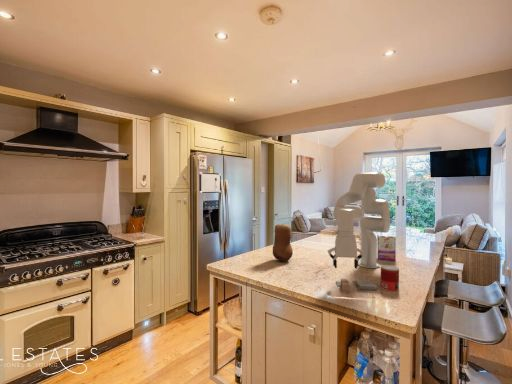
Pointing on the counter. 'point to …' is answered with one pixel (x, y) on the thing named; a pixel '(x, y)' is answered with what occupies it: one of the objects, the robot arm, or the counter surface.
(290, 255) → the butternut squash
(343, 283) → the tall wooden pillar
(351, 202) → the robot arm
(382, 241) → the candy bar box
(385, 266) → the canned food
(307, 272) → the counter surface
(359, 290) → the board
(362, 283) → the tile
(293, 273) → the counter surface
